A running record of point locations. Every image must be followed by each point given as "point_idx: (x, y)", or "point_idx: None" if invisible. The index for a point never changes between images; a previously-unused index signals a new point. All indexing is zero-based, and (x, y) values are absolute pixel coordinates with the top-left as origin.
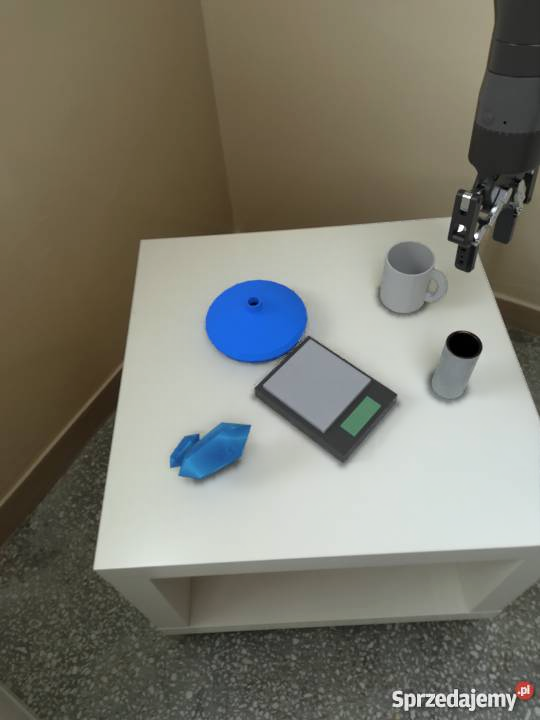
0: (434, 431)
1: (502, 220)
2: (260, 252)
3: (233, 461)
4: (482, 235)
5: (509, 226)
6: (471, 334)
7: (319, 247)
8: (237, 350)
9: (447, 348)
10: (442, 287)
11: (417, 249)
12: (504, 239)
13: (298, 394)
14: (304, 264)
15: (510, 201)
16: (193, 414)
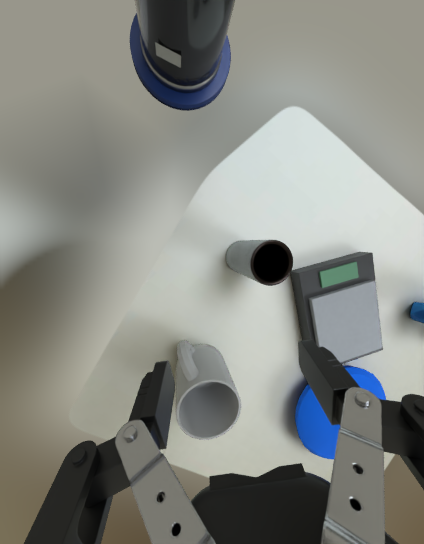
0: (284, 227)
1: (165, 420)
2: None
3: (417, 302)
4: (347, 411)
5: (162, 396)
6: (253, 269)
7: (222, 462)
8: (381, 390)
9: (290, 270)
10: (188, 351)
11: (181, 416)
12: (168, 371)
13: (367, 323)
14: (249, 448)
15: (207, 496)
16: (410, 354)
